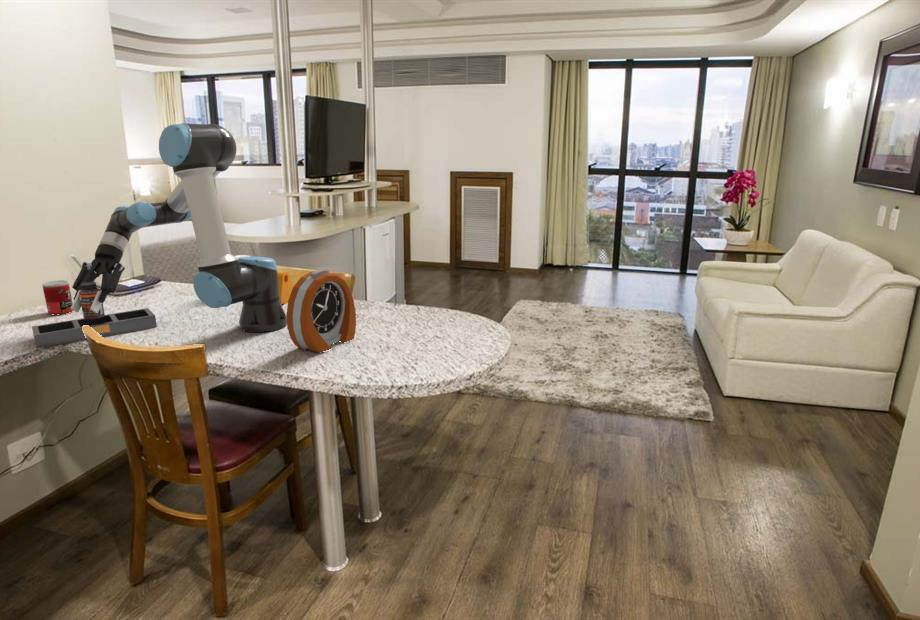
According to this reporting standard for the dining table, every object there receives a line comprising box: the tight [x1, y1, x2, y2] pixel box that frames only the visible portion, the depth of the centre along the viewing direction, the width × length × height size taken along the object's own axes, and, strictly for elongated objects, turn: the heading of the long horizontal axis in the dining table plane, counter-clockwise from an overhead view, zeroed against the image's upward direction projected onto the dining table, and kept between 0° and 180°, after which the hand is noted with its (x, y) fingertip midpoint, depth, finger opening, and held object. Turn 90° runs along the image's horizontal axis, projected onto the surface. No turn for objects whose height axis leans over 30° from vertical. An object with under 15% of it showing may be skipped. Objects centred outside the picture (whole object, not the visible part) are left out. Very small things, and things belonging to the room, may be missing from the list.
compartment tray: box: [31, 307, 158, 349], centre depth 192 cm, size 11×33×4 cm, turn 127°
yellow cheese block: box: [277, 270, 294, 305], centre depth 225 cm, size 11×7×12 cm, turn 169°
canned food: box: [41, 279, 74, 316], centre depth 213 cm, size 8×8×11 cm
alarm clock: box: [286, 269, 357, 353], centre depth 178 cm, size 22×10×23 cm, turn 151°
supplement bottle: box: [79, 281, 106, 320], centre depth 189 cm, size 6×6×11 cm
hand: (84, 310), depth 186 cm, fingers closed on supplement bottle, 6 cm apart
